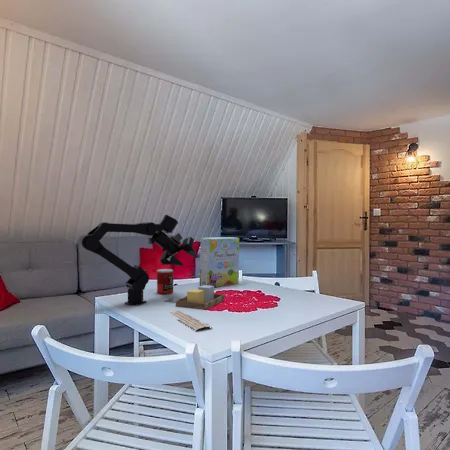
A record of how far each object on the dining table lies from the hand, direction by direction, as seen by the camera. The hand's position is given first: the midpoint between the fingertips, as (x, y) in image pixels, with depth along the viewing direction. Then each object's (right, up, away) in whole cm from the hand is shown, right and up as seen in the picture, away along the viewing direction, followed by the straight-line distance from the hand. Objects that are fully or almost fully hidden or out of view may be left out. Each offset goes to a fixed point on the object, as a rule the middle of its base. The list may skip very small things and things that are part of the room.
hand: (190, 261), depth 162 cm
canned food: (-13, -16, +7) cm, 22 cm away
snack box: (+13, -16, +28) cm, 35 cm away
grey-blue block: (+8, -16, -11) cm, 21 cm away
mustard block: (+4, -16, -20) cm, 26 cm away
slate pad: (-5, -16, -11) cm, 20 cm away
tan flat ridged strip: (+4, -18, -39) cm, 43 cm away
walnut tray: (+6, -16, -15) cm, 23 cm away
